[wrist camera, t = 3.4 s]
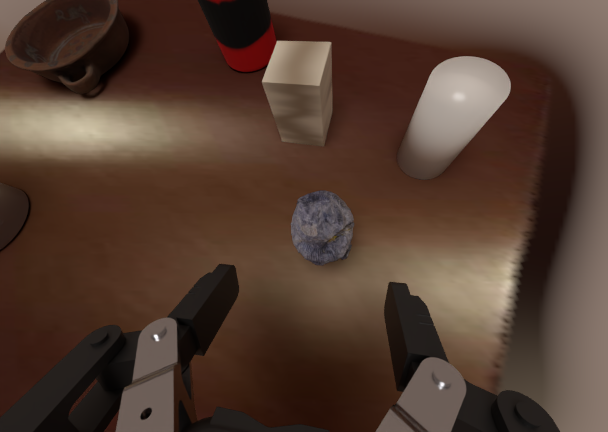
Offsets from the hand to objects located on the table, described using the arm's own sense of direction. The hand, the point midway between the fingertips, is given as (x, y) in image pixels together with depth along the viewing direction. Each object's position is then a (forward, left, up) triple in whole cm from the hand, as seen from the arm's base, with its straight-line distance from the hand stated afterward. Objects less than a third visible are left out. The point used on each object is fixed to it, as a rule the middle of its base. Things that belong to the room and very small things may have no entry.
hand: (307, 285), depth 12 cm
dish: (-51, +11, -10) cm, 53 cm away
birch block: (-11, +15, -10) cm, 21 cm away
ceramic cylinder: (+2, +17, -10) cm, 20 cm away
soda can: (-25, +22, -10) cm, 35 cm away
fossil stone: (-2, +4, -10) cm, 11 cm away
